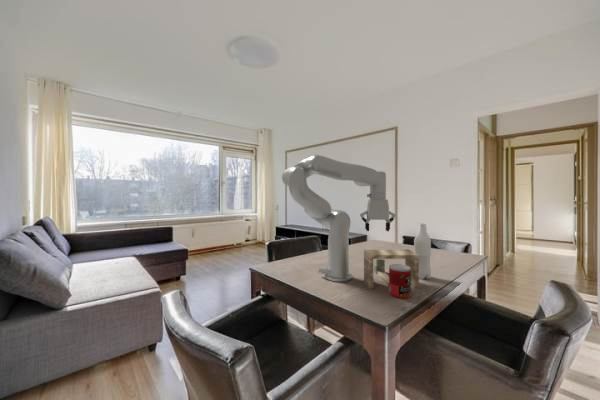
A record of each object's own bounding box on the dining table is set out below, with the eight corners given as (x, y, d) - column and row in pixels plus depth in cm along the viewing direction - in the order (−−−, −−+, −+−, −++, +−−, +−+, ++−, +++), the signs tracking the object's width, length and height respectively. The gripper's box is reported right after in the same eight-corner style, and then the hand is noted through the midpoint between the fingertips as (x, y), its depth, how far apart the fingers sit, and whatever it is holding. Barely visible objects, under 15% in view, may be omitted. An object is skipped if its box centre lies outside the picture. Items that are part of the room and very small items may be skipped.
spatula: (387, 286, 104) (387, 269, 104) (374, 271, 124) (374, 257, 124) (396, 286, 104) (396, 269, 104) (382, 271, 124) (382, 257, 124)
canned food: (402, 300, 90) (402, 271, 90) (384, 293, 97) (384, 265, 97) (415, 296, 94) (415, 267, 94) (397, 289, 101) (397, 262, 101)
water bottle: (433, 280, 111) (433, 225, 110) (416, 279, 112) (416, 224, 111) (428, 275, 118) (428, 223, 117) (412, 274, 119) (412, 222, 119)
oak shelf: (369, 288, 102) (369, 255, 101) (364, 280, 112) (363, 249, 111) (418, 288, 101) (418, 255, 101) (408, 280, 111) (408, 249, 111)
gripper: (361, 196, 119) (361, 232, 119) (398, 196, 118) (397, 232, 118) (358, 196, 126) (358, 229, 126) (392, 196, 125) (392, 230, 126)
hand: (377, 231), depth 122 cm, fingers open, 9 cm apart
